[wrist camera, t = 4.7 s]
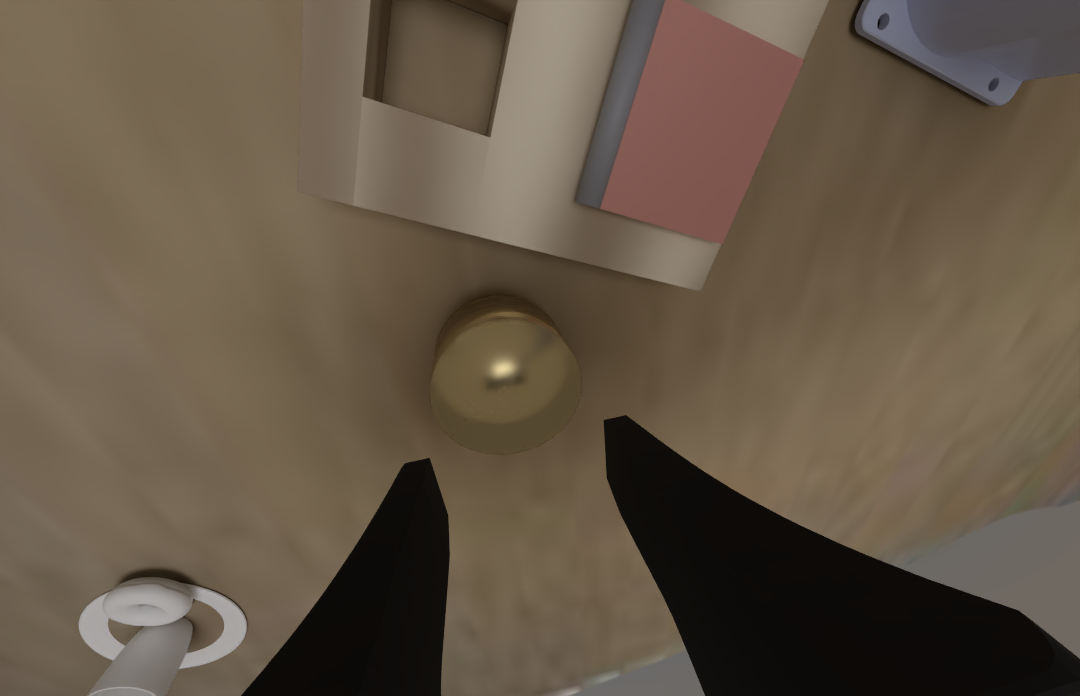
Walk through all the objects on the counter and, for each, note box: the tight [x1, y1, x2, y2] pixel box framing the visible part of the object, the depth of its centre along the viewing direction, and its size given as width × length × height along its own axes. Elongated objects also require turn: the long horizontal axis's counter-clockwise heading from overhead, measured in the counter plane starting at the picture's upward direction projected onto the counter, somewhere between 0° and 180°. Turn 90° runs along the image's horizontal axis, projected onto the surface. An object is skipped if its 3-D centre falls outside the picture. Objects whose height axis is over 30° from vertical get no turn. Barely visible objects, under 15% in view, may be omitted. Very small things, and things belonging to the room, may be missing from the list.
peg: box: [430, 295, 582, 455], centre depth 16 cm, size 5×5×6 cm
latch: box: [575, 0, 804, 245], centre depth 13 cm, size 6×6×1 cm
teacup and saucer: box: [79, 577, 247, 696], centre depth 21 cm, size 9×8×4 cm
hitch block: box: [298, 0, 829, 291], centre depth 14 cm, size 15×10×3 cm, turn 75°
